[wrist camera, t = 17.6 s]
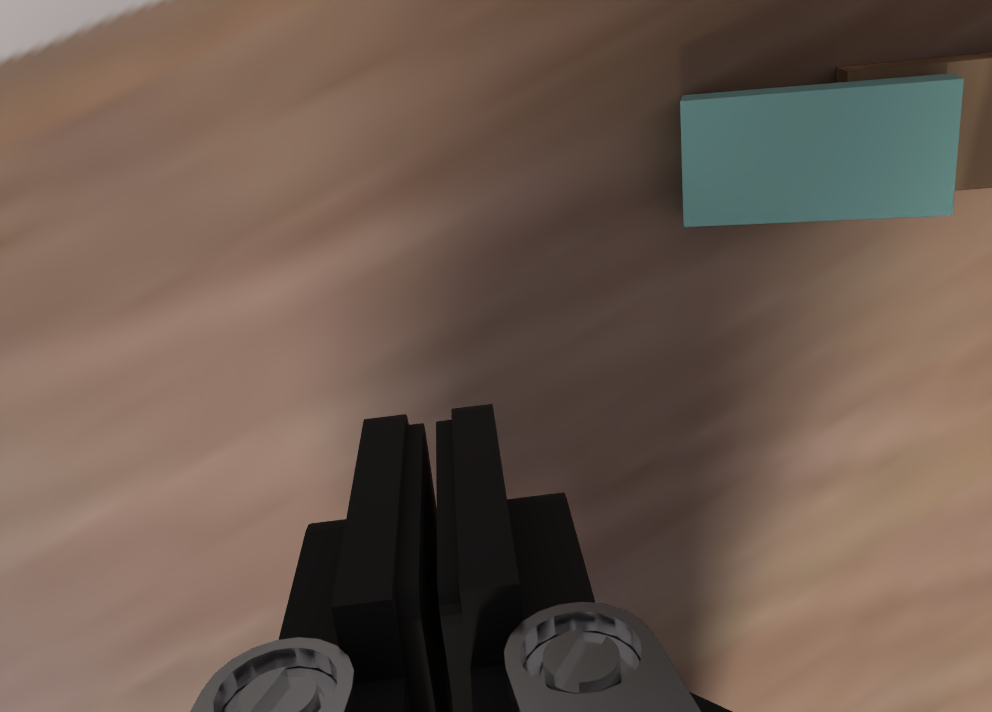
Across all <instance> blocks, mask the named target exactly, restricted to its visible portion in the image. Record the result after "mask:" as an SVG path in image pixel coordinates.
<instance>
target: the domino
mask: <svg viewBox="0 0 992 712" xmlns="http://www.w3.org/2000/svg"><path fill="white" fill-rule="evenodd" d="M950 73H952V74H954V75H956V76H959V77H961V78H963V79H964V83H963V95H962V107H961V119H960V130H959V142H958V154H957V166H956V178H955V190H968V189H981V188H992V52H988V53H978V54H967V55H957V56H947V57H937V58H926V59H916V60H906V61H896V62H885V63H875V64H865V65H855V66H844V67H836V83H839V82H852V81H864V80H876V79H889V78H901V77H913V76H926V75H938V74H950ZM955 190H954V191H955Z"/></svg>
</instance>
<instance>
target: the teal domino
mask: <svg viewBox="0 0 992 712" xmlns="http://www.w3.org/2000/svg"><path fill="white" fill-rule="evenodd" d="M963 83H964V79H963V78H961V77H959V76H956V75H954V74H952V73H950V74H938V75H926V76H913V77H901V78H889V79H876V80H864V81H852V82H839V83H827V84H814V85H802V86H790V87H777V88H765V89H753V90H740V91H728V92H716V93H703V94H691V95H683V96H682V98H681V100H680V115H681V150H682V186H683V221H684V227H697V226H721V225H744V224H767V223H790V222H813V221H836V220H860V219H883V218H906V217H929V216H952V214H953V202H954V190H955V178H956V166H957V154H958V142H959V130H960V119H961V107H962V95H963Z"/></svg>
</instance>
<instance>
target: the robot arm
mask: <svg viewBox="0 0 992 712" xmlns="http://www.w3.org/2000/svg"><path fill="white" fill-rule="evenodd" d="M451 412H452V420H447V421H438V422H436V466H437V509H436V502H435V495H434V488H433V481H432V474H431V467H430V460H429V453H428V446H427V439H426V433H425V427H424V424H423V423H422V424H413V425H409V423H408V419H407V416H406V415H397V416H388V417H380V418H371V419H364V422H363V427H362V433H361V439H360V444H359V450H358V456H357V461H356V467H355V473H354V479H353V484H352V490H351V496H350V501H349V507H348V513H347V519H344V520H336V521H328V522H319V523H312V524H309V525H308V527H307V530H306V532H305V536H304V540H303V544H302V548H301V552H300V556H299V560H298V564H297V568H296V572H295V576H294V580H293V584H292V588H291V592H290V596H289V600H288V604H287V608H286V612H285V616H284V620H283V624H282V628H281V632H280V636H279V640H275V641H272V642H269V643H266V644H263V645H260V646H257V647H254V648H252V649H250V650H248V651H246V652H244V653H242V654H240V655H239V656H237V657H235V658H233V659H231V660H230V661H229V662H228V663H227V664H225V665H224V666H223V667H222V668H220V669H219V670H218V671H217V672H216V673H214V675H213V676H212V677H211V679H210V680H209V681H208V683H207V684H206V685H205V687H204V688H203V689H202V691H201V692H200V694H199V696H198V698H197V700H196V702H195V703H194V705H193V707H192V709H191V711H190V712H732V711H730V710H727V709H725V708H723V707H721V706H719V705H717V704H714V703H712V702H710V701H708V700H706V699H704V698H701V697H699V696H697V695H695V694H693V693H691V692H689V691H688V689H687V687H686V686H685V684H684V682H683V681H682V679H681V677H680V676H679V674H678V672H677V671H676V669H675V668H674V666H673V664H672V663H671V661H670V659H669V658H668V656H667V654H666V653H665V651H664V649H663V648H662V646H661V644H660V643H659V641H658V639H657V638H656V636H655V635H654V633H653V632H652V631H651V630H650V628H649V627H648V626H647V625H646V624H645V623H644V622H643V621H642V620H641V619H640V618H638V617H636V616H634V615H633V614H631V613H629V612H628V611H626V610H624V609H621V608H617V607H614V606H610V605H607V604H603V603H595V600H594V596H593V593H592V589H591V585H590V582H589V578H588V575H587V571H586V567H585V564H584V560H583V556H582V553H581V549H580V546H579V542H578V538H577V535H576V531H575V527H574V524H573V520H572V517H571V513H570V509H569V506H568V502H567V499H566V496H565V493H556V494H548V495H540V496H532V497H524V498H515V499H507V497H506V491H505V484H504V478H503V471H502V464H501V458H500V451H499V445H498V438H497V431H496V425H495V418H494V412H493V405H492V404H488V405H480V406H472V407H463V408H455V409H452V411H451Z"/></svg>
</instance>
